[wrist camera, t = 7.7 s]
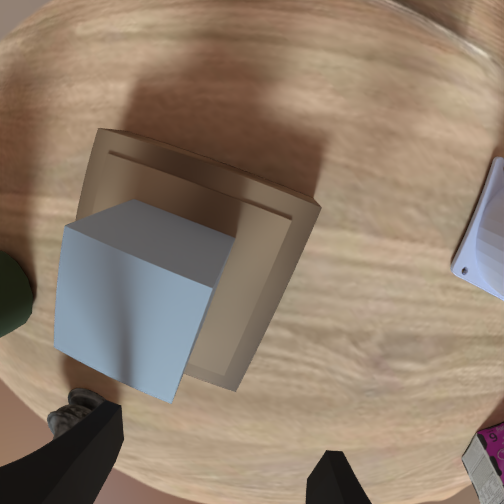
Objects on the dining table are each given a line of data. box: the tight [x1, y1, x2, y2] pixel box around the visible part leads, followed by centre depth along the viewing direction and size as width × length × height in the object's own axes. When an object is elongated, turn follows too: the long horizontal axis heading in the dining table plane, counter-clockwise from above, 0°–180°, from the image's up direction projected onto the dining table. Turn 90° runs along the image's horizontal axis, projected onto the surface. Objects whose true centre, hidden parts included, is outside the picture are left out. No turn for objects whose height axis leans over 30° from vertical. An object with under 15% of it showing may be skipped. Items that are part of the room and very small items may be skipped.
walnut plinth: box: [76, 128, 322, 392], centre depth 16 cm, size 11×11×3 cm
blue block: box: [54, 199, 235, 404], centre depth 12 cm, size 5×5×6 cm
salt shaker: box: [47, 388, 106, 440], centre depth 17 cm, size 6×6×12 cm
